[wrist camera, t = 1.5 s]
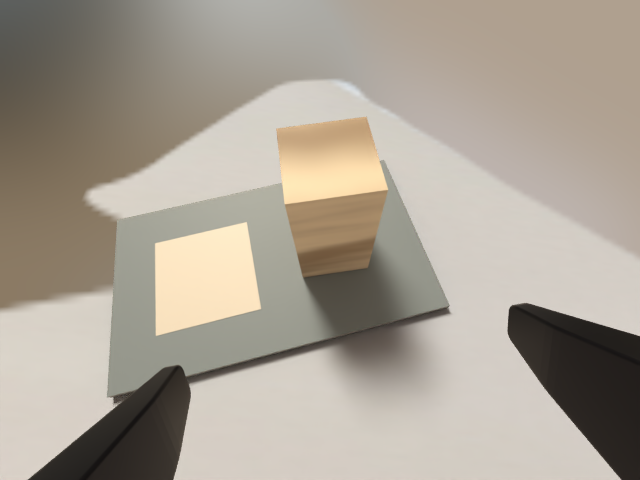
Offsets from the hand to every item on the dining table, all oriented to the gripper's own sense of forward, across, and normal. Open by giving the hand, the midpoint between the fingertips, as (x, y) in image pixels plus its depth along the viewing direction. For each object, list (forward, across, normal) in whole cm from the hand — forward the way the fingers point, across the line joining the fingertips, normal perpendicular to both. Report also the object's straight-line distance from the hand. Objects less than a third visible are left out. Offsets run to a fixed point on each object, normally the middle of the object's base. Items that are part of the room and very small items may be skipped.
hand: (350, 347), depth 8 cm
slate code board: (+17, +4, +4) cm, 17 cm away
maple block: (+16, -1, +3) cm, 17 cm away
